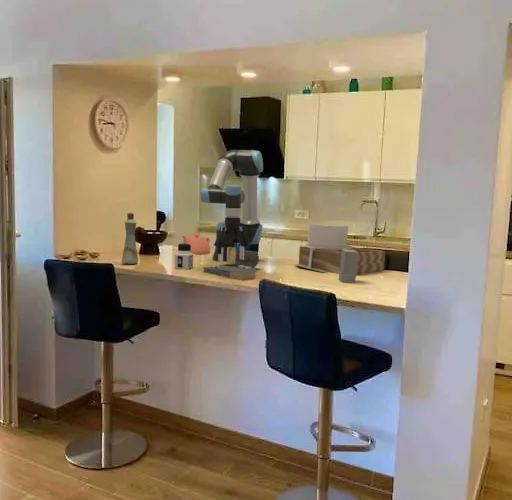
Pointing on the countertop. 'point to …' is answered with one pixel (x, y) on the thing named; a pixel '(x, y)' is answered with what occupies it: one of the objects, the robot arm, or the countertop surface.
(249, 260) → the bowl
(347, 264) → the skincare box
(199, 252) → the teapot
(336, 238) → the white panel on stand
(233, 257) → the pin
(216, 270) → the chain end
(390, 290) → the countertop surface
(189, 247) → the container
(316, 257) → the holder caddy
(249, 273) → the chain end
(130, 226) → the bottle
